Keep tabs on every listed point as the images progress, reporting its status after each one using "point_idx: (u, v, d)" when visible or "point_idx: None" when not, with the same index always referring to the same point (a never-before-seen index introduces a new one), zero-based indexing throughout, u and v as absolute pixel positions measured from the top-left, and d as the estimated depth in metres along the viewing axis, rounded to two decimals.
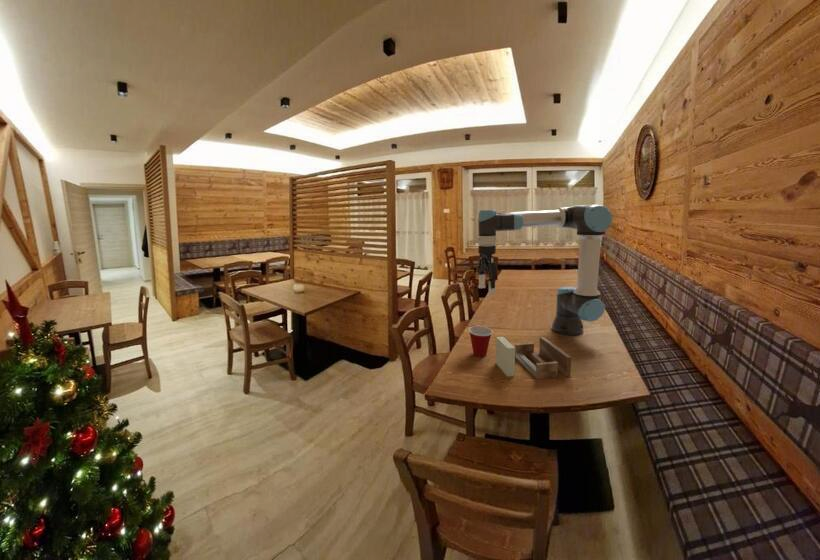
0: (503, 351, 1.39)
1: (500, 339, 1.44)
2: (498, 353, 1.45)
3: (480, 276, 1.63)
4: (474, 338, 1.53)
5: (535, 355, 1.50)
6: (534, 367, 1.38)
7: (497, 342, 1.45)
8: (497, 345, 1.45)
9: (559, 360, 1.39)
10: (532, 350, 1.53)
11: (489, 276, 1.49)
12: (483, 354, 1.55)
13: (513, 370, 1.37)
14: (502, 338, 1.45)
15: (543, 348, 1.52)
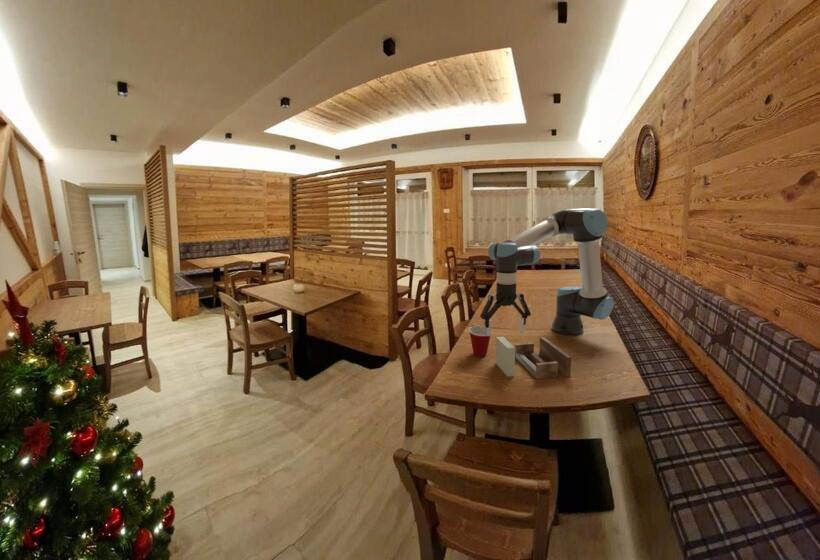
0: (503, 351, 1.39)
1: (500, 339, 1.44)
2: (498, 353, 1.45)
3: (519, 318, 1.40)
4: (474, 338, 1.53)
5: (535, 355, 1.50)
6: (534, 367, 1.38)
7: (497, 342, 1.45)
8: (497, 345, 1.45)
9: (559, 360, 1.39)
10: (532, 350, 1.53)
11: None
12: (483, 354, 1.55)
13: (513, 370, 1.37)
14: (502, 338, 1.45)
15: (543, 348, 1.52)
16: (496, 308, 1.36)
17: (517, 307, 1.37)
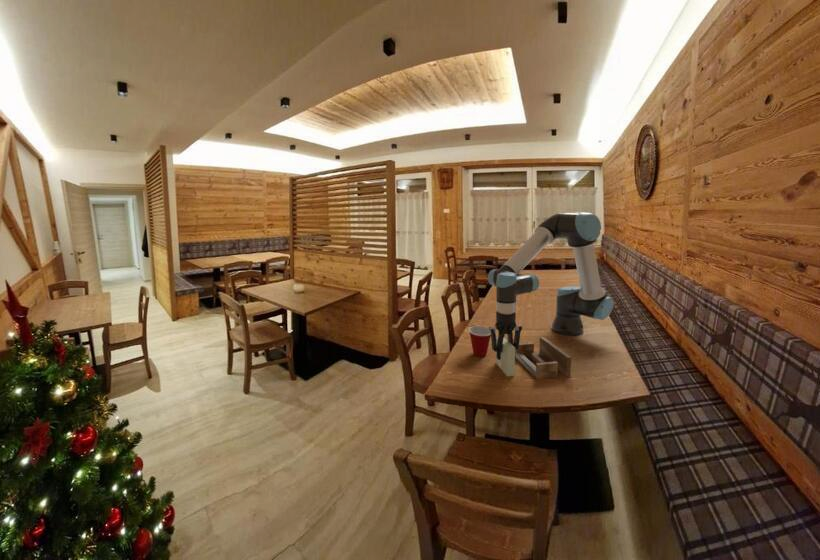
0: (503, 351, 1.39)
1: None
2: None
3: None
4: (474, 338, 1.53)
5: (535, 355, 1.50)
6: (534, 367, 1.38)
7: None
8: None
9: (559, 360, 1.39)
10: (532, 350, 1.53)
11: None
12: (483, 354, 1.55)
13: (513, 370, 1.37)
14: None
15: (543, 348, 1.52)
16: (501, 338, 1.39)
17: (511, 338, 1.39)
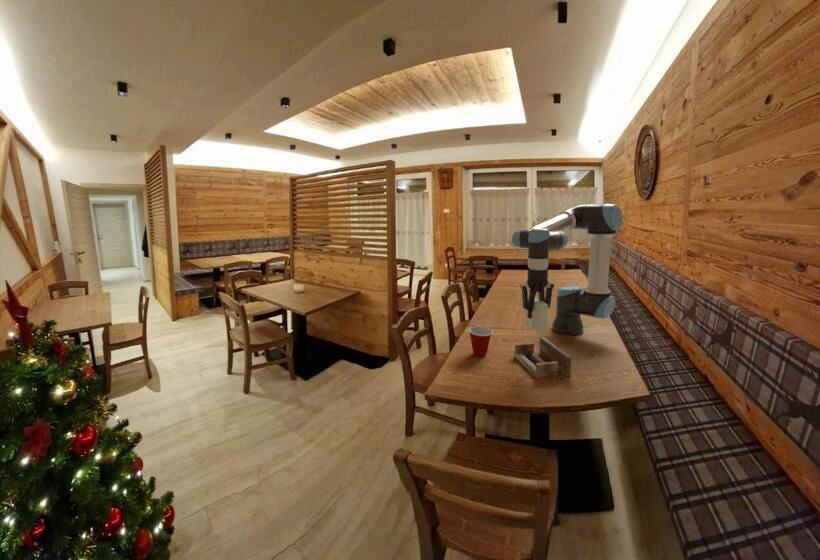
0: (534, 309, 1.37)
1: None
2: None
3: None
4: (474, 338, 1.53)
5: (535, 355, 1.50)
6: (534, 367, 1.38)
7: None
8: None
9: (559, 360, 1.39)
10: (532, 350, 1.53)
11: None
12: (483, 354, 1.55)
13: (545, 327, 1.35)
14: None
15: (543, 348, 1.52)
16: (533, 296, 1.37)
17: (542, 296, 1.37)
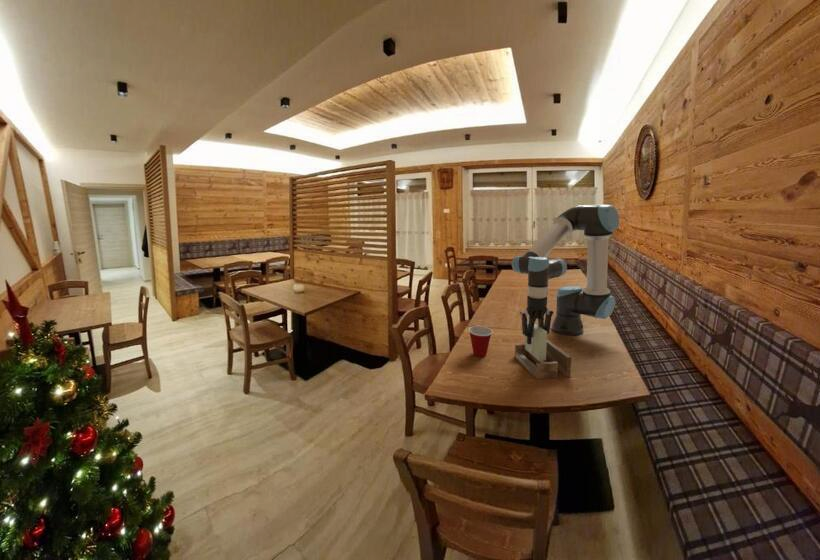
0: (534, 336, 1.40)
1: None
2: None
3: None
4: (474, 338, 1.53)
5: None
6: (534, 367, 1.38)
7: None
8: None
9: (559, 360, 1.39)
10: None
11: None
12: (483, 354, 1.55)
13: (544, 354, 1.37)
14: None
15: None
16: (532, 323, 1.39)
17: (542, 323, 1.40)
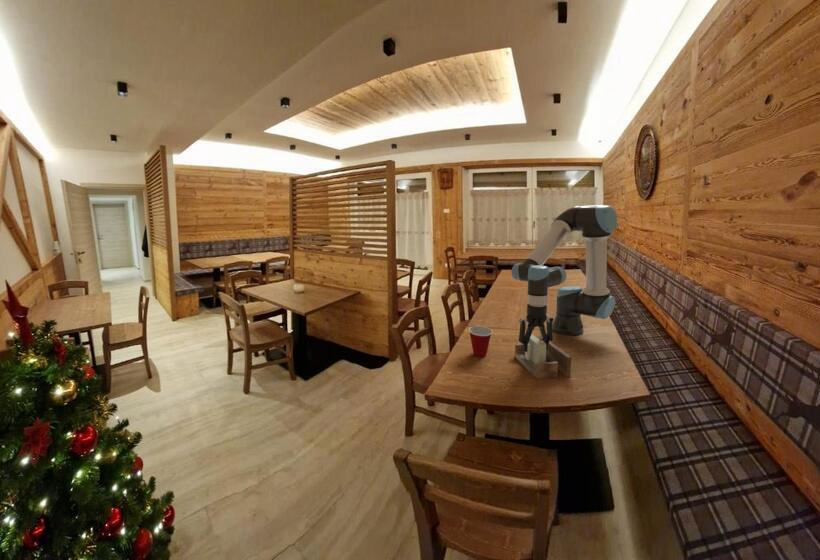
0: (533, 348, 1.41)
1: None
2: None
3: None
4: (474, 338, 1.53)
5: None
6: (534, 367, 1.38)
7: None
8: None
9: (559, 360, 1.39)
10: None
11: (524, 337, 1.43)
12: (483, 354, 1.55)
13: None
14: (531, 335, 1.46)
15: None
16: (530, 331, 1.40)
17: (543, 330, 1.40)
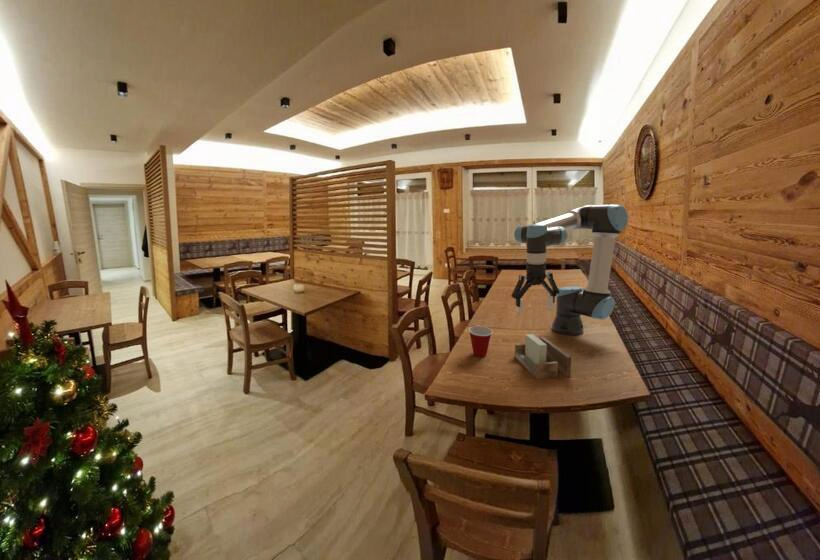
0: (533, 348, 1.41)
1: (530, 336, 1.45)
2: (528, 351, 1.46)
3: (548, 296, 1.46)
4: (474, 338, 1.53)
5: None
6: (534, 367, 1.38)
7: (527, 339, 1.47)
8: (527, 342, 1.47)
9: (559, 360, 1.39)
10: None
11: None
12: (483, 354, 1.55)
13: None
14: (532, 335, 1.46)
15: None
16: (527, 287, 1.41)
17: (546, 286, 1.43)
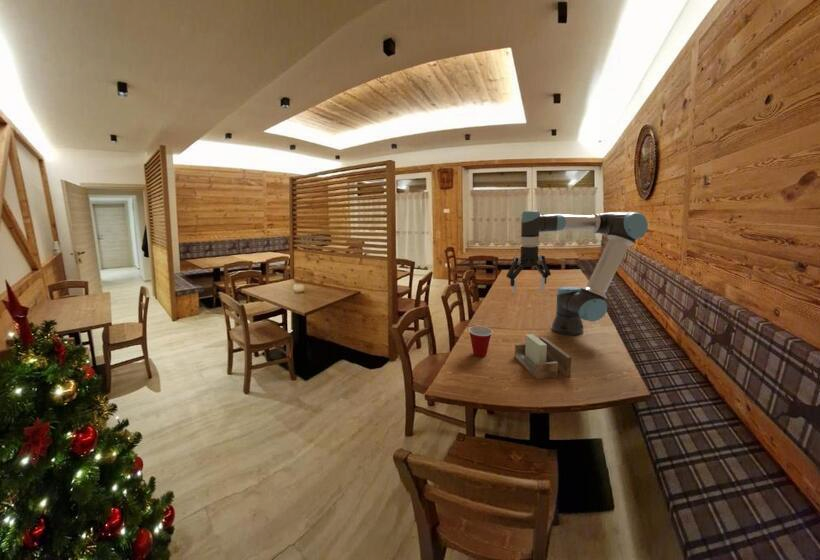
0: (533, 348, 1.41)
1: (530, 336, 1.45)
2: (528, 351, 1.46)
3: (540, 278, 1.59)
4: (474, 338, 1.53)
5: None
6: (534, 367, 1.38)
7: (527, 339, 1.47)
8: (527, 342, 1.47)
9: (559, 360, 1.39)
10: None
11: None
12: (483, 354, 1.55)
13: None
14: (532, 335, 1.46)
15: None
16: (521, 268, 1.55)
17: (539, 268, 1.56)
